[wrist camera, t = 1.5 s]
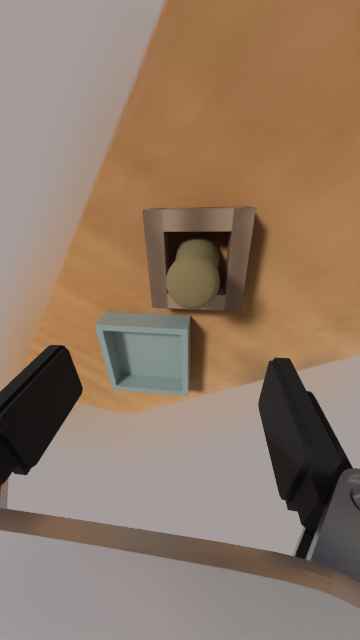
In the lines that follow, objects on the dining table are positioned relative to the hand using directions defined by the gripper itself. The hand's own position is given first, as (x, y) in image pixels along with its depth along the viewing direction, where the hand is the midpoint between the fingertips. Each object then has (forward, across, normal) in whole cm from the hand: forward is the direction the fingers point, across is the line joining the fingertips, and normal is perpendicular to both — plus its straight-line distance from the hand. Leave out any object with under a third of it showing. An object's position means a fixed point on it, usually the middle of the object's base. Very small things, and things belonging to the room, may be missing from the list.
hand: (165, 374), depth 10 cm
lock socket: (+22, -1, 0) cm, 22 cm away
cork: (+22, -1, 0) cm, 22 cm away
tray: (+22, +7, +16) cm, 28 cm away
